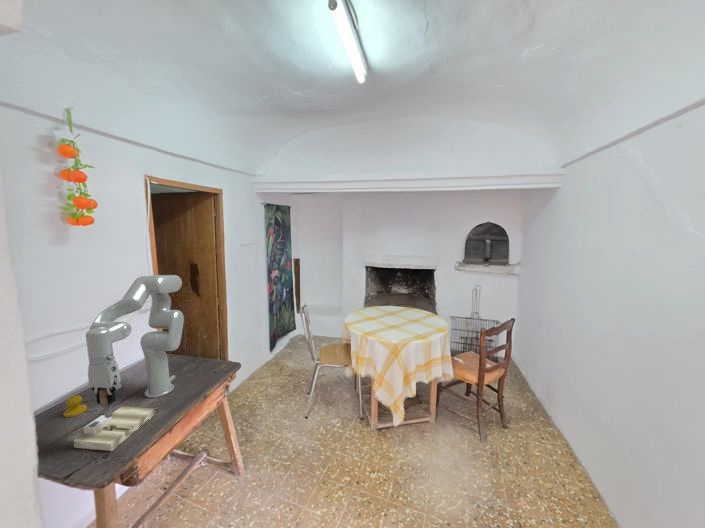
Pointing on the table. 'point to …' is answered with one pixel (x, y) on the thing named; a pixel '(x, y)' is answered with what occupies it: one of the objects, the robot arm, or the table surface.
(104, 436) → the cream slotted tray
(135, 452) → the table surface
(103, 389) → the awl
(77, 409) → the doorknob
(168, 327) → the robot arm
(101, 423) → the block
